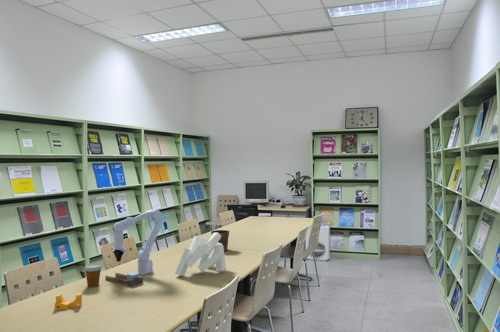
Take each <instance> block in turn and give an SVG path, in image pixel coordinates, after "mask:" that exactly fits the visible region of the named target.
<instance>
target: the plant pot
mask: <svg viewBox="0 0 500 332" xmlns="http://www.w3.org/2000/svg"><path fill="white" fill-rule="evenodd" d="M216 232H218V233H219V234H220V235H221V238H220V240H219V241H218V243H221V244H222V245H223V248H224V252H226V251H228V246H229V236H230V233H231V232H230V230H228V229H227V230H226V229H222V230H221V229H218V230H212V231H210V233H211V235H212V234H213V233H216Z"/></svg>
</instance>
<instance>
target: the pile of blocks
mask: <svg viewBox="0 0 500 332" xmlns="http://www.w3.org/2000/svg"><path fill="white" fill-rule="evenodd" d="M220 238H221V235H220V234H219V233H218V232H216V233H213V234H211V236H210V238H209V239H208V238H207V237H206V236H205V235H203V236H202V237H201V236H198V235H194V237H193V240H192V242H191V243H190V246H189V248H188V247H185V248H184V251H183V252H182V253H183V254H182V255H181V257H180V260H179V263H178V265H177V268H176V269H175V273H174V274H175V275H178V276H181V277H184V276H185V275H186V272H187V270H188V267H189V268H191V267H193V265H195V264H196V263H197V265H196V267H197V268H198V270H199V271H200V272H201V273H203V272H205V271H206V270H207V269H208V268H214V267H215V271H216V273H222V272H226V271H227V268H226V267H227V266H226V259H225V251H224V248H223V245H222V244H221V243H218V241H219V240H220ZM197 261H198V262H197Z"/></svg>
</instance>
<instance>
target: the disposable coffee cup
mask: <svg viewBox="0 0 500 332" xmlns="http://www.w3.org/2000/svg"><path fill="white" fill-rule="evenodd" d="M84 270H85V276H86V283H87V284H86V285H87V287H88V288H96V287H98V286H99V285H100V278H101V270H102V265H101V264H99V263H94V264H93V263H92V264H87V265H86V266H85V268H84Z"/></svg>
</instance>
